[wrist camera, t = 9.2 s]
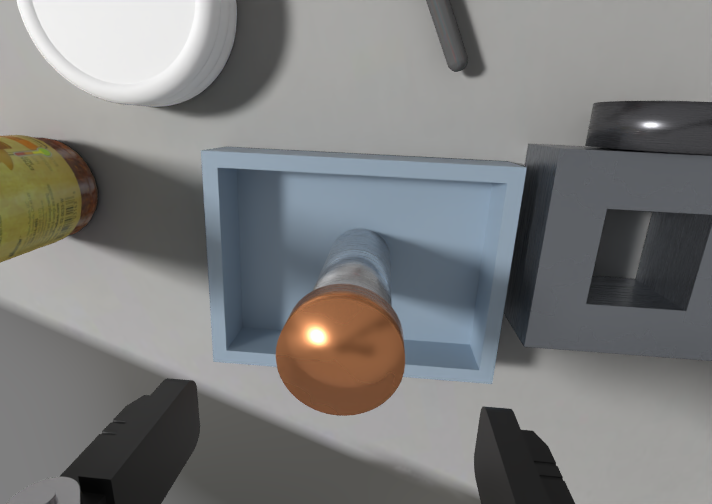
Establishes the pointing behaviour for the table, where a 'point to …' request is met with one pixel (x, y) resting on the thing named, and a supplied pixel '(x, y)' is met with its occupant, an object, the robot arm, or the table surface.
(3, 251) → the sauce bottle
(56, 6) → the white round disc stack
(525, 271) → the block
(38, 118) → the table surface
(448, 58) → the walkie-talkie
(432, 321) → the tray
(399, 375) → the lock pin
